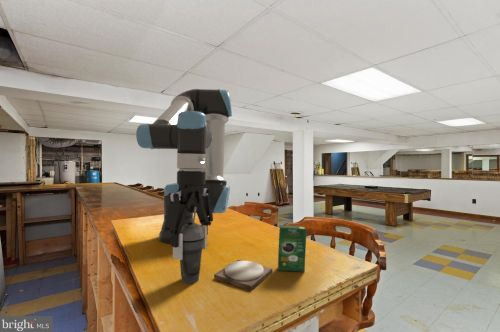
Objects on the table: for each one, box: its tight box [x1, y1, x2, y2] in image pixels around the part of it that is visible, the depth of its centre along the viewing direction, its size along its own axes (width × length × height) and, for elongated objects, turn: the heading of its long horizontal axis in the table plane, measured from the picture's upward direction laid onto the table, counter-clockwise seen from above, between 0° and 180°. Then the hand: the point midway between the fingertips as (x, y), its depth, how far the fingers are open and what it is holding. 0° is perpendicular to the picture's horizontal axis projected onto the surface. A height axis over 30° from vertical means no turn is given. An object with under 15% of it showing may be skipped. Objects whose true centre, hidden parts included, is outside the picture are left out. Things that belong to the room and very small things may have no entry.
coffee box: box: [277, 225, 307, 273], centre depth 75 cm, size 8×3×13 cm, turn 87°
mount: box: [213, 259, 273, 292], centre depth 71 cm, size 12×12×2 cm
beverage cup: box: [179, 207, 204, 285], centre depth 68 cm, size 7×7×20 cm
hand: (190, 252), depth 68 cm, fingers open, 9 cm apart
